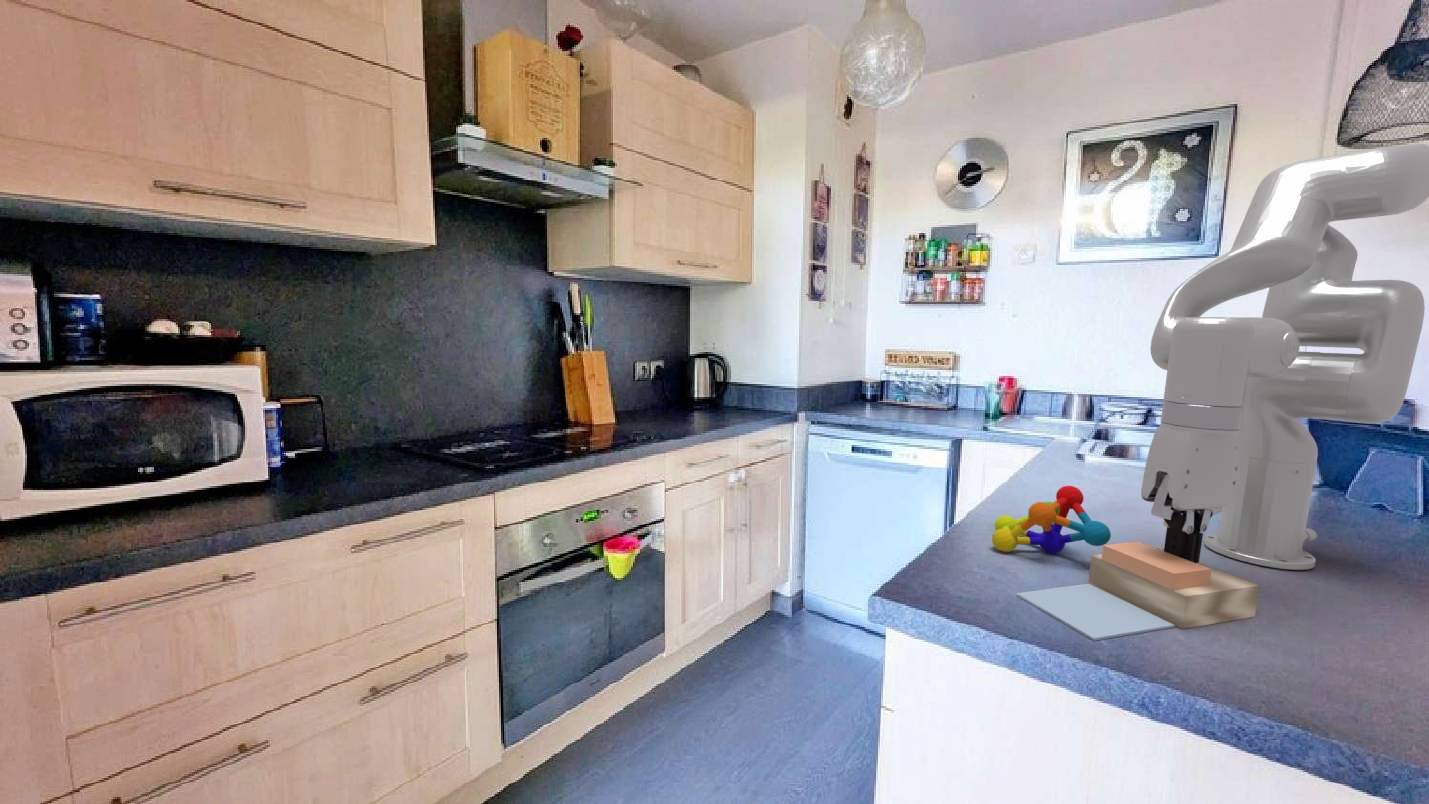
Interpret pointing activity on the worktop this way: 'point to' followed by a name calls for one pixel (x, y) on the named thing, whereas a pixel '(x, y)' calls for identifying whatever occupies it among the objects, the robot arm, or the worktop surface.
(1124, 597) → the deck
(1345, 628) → the worktop surface
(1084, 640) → the worktop surface
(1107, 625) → the mat
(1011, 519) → the molecular model
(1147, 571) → the salmon pink brick
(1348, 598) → the worktop surface
